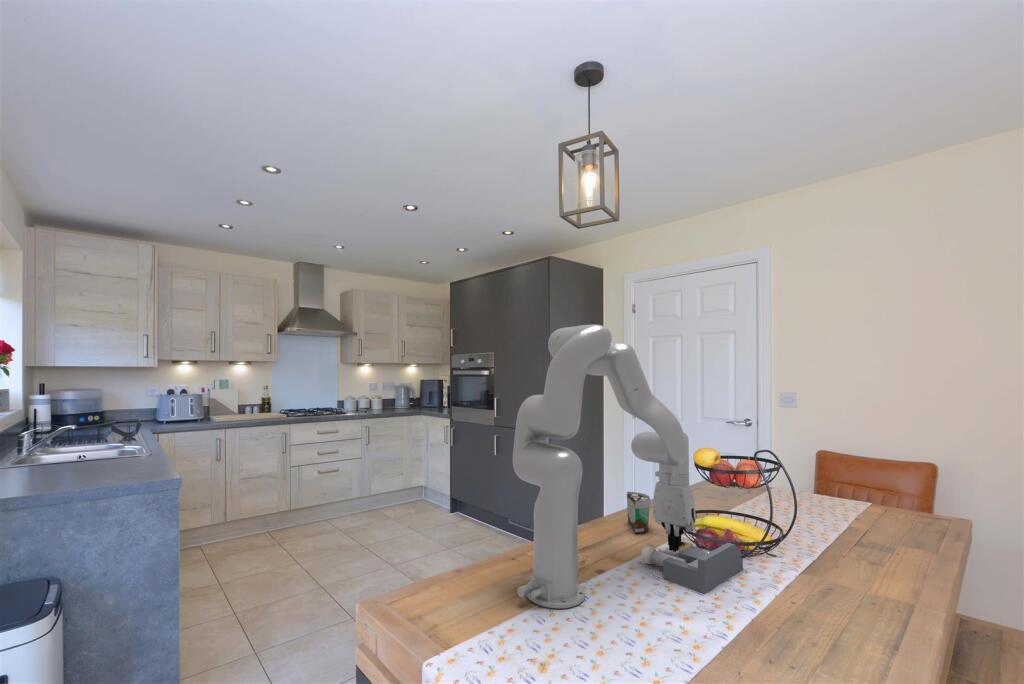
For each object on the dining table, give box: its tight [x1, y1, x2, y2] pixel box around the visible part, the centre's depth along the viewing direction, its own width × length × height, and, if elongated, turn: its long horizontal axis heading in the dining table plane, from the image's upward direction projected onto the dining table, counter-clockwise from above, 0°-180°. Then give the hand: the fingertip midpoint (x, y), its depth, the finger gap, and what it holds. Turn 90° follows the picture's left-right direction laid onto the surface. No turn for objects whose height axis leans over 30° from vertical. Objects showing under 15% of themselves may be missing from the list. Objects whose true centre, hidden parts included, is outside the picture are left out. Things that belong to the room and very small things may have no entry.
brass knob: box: [678, 540, 711, 553], centre depth 120 cm, size 4×10×4 cm, turn 42°
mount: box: [662, 537, 744, 594], centre depth 115 cm, size 20×10×7 cm, turn 132°
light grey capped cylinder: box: [640, 545, 686, 567], centre depth 117 cm, size 4×10×4 cm, turn 42°
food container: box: [626, 491, 653, 536], centre depth 147 cm, size 12×6×10 cm, turn 179°
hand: (674, 549), depth 125 cm, fingers closed
